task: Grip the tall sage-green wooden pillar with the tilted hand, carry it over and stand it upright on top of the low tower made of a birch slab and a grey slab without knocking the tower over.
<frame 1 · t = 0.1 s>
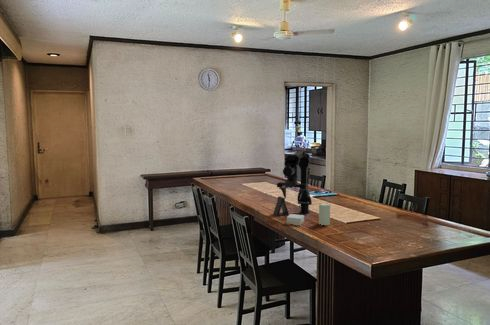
hand: (292, 199, 245), 15 cm above the table, tool pointing down, fingers open, 9 cm apart
top slab: (295, 220, 244), point 2 cm above the table, touching base slab
base slab: (295, 224, 244), on the table, touching top slab
pillar: (324, 224, 241), on the table
phone stand: (280, 214, 267), on the table
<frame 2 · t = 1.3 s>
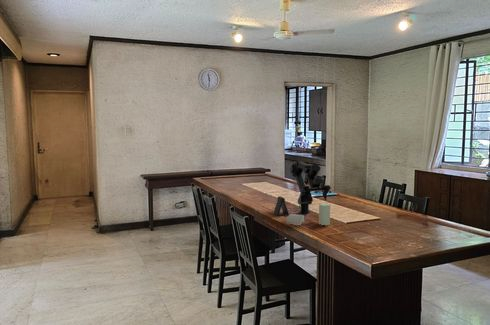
hand: (319, 200, 247), 13 cm above the table, tool tilted 45°, fingers open, 9 cm apart
nothing on the table moved.
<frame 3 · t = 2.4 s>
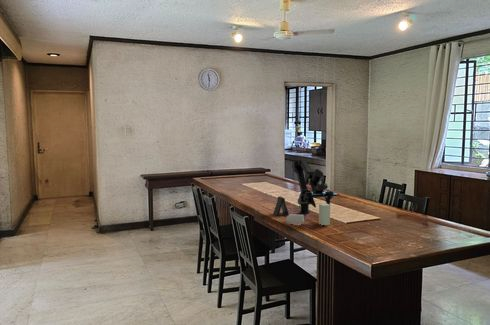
hand: (322, 207, 243), 10 cm above the table, tool tilted 45°, fingers open, 9 cm apart
nothing on the table moved.
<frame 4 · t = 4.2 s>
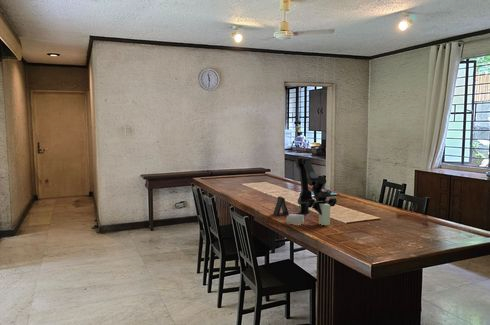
hand: (325, 214, 239), 7 cm above the table, tool tilted 45°, fingers closed on pillar, 5 cm apart
top slab: (295, 220, 244), point 2 cm above the table
base slab: (295, 223, 244), on the table
pillar: (324, 224, 241), on the table, touching gripper
everything else where it was.
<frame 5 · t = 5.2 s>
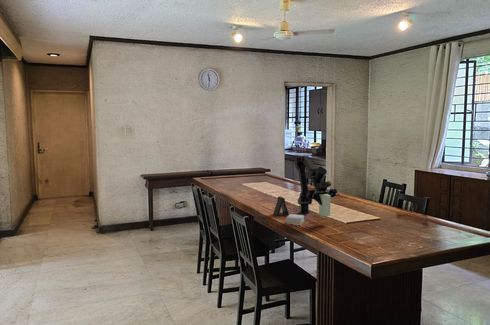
hand: (325, 204, 239), 12 cm above the table, tool tilted 45°, fingers closed on pillar, 5 cm apart
top slab: (295, 220, 244), point 2 cm above the table, touching base slab
base slab: (295, 224, 244), on the table, touching top slab
pillar: (324, 215, 241), point 6 cm above the table, touching gripper
everything else where it was.
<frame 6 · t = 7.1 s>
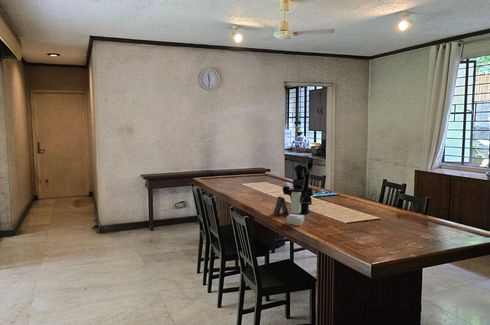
hand: (295, 202, 241), 13 cm above the table, tool tilted 45°, fingers closed on pillar, 5 cm apart
top slab: (295, 220, 244), point 2 cm above the table
base slab: (295, 224, 244), on the table
pillar: (295, 212, 243), point 7 cm above the table, touching gripper
everything else where it was.
when the fingers open (12 cm above the table, at t = 7.9 s): pillar drops 1 cm, resting on top slab.
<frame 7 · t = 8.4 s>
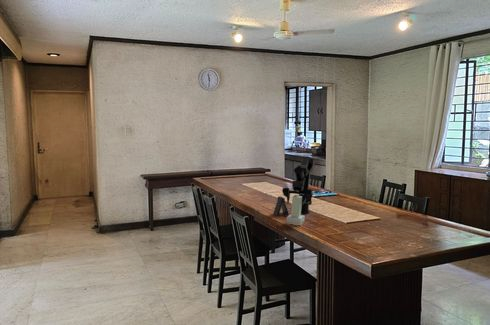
hand: (295, 203, 241), 13 cm above the table, tool tilted 45°, fingers open, 9 cm apart
top slab: (295, 220, 244), point 2 cm above the table, touching base slab, pillar
base slab: (295, 224, 244), on the table, touching top slab
pillar: (295, 216, 243), point 5 cm above the table, touching top slab
everything else where it was.
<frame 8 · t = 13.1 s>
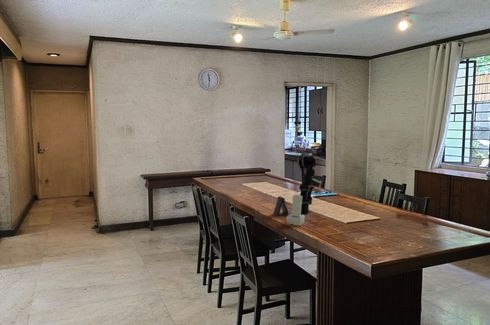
hand: (307, 198, 256), 13 cm above the table, tool pointing down, fingers open, 9 cm apart
at the end: pillar 0.1 cm off-centre on the top slab, point 2.7 cm above the top slab's base; pillar tilted 3°; top slab 0.1 cm off-centre on the base slab, point 2.5 cm above the base slab's base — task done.
